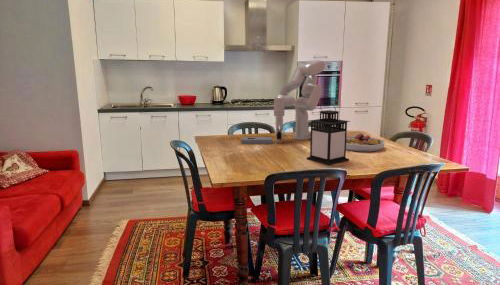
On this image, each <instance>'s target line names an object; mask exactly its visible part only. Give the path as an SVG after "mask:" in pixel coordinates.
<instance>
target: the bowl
mask: <svg viewBox="0 0 500 285" xmlns="http://www.w3.org/2000/svg"><path fill="white" fill-rule="evenodd" d="M346 141H347V142H346V151H350V152H351V151H352V152H363V153H364V152H365V153H368V152H369V153H371V152H377V151H380V150H382V149H383V148H384V147H385V141H384V140H382V139H379V138H376V137H375V138H374V137H370V135H368V134H367V135H364V134H363V133H357V134H356V136H346Z"/></svg>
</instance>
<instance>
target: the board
mask: <svg viewBox="0 0 500 285" xmlns="http://www.w3.org/2000/svg"><path fill="white" fill-rule="evenodd" d="M240 142H241V144H240V145H273V137H272V136H242V137H241V140H240Z"/></svg>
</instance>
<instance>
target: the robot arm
mask: <svg viewBox="0 0 500 285" xmlns="http://www.w3.org/2000/svg"><path fill="white" fill-rule="evenodd" d="M325 68H326V64H325V62H324V61H323V60H319V59H317V60H314V59H313V60H306V61H305V63H300V64H297V66H296V67H295V70H294V72H293V74H292V76H291V77H290V80H289V81H288V83H286V84H285V85H284V86H283V87H282V88H281V89H280V91H279V93H278V95H277V96H274V97H273V116H274V117H275V129H276V130H277V139H281V129H282V131H283V130H284V117H285V108H286V107H292V106H294V110H295V130H294V132H295V134H294V136H293V137H292V138H293V139H294V140H299V141H308V140H311V133H309V113H308V111H311V112H312V111H315V110H316V108H317V106H318V104H319V101H320V99H321V97H322V86H321V85H320V84H317V82H318V76H317V75H318V74H320V73H322V72H323V71H324V70H325ZM305 77H306V79H305ZM304 80H305V81H304ZM303 81H304V83H303ZM302 84H303V86H302ZM301 86H302V89H301V95H302V96H299V97H297V98H296V99H295V97H294V96H292V95H289V94H290V93H291V92H292V91H295V90H297V89H299V88H300V87H301ZM276 130H275V131H276Z"/></svg>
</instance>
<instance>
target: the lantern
mask: <svg viewBox="0 0 500 285" xmlns="http://www.w3.org/2000/svg"><path fill="white" fill-rule="evenodd" d="M324 102H325V100H322V101H321V102H320V107H319V108H320V111H318V112H319V118H318V119H311V120H309V119H308V122H310V134H311V136H310V142H309V143H310V144H309V146H310V147H309V151H310V152H309V153H310V154H309V156H307V157H306V160H307V161H311V162H315V163H318V164H319V163H320V164H323V165H326V166H332V165H337V164H342V163H345V162H348V161H350V159H349V158H347V157H346V156H347V155H346V153H347V152H346V151H347V150H346V142H347V141H346V137H347V135H348V134H347V130H348V123H349V122H351V120H344V119H339V115H340V114H339V113H340V111H339V110H337V109H336V106H335V105H334V104H333V103H332V102H330V101H329V100H326V102H327V103H330V104H331V105H332V106H333V108H334V109H335V110H330V109H329V110H328V109H327V110H322V103H324Z"/></svg>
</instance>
